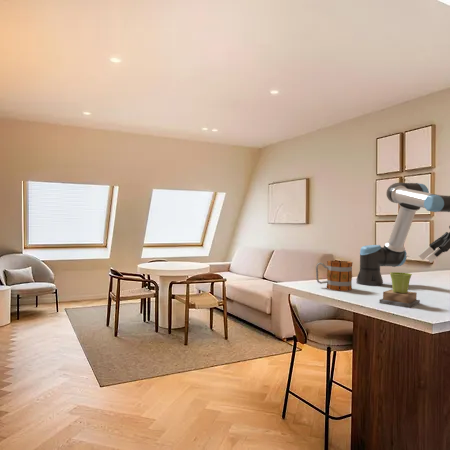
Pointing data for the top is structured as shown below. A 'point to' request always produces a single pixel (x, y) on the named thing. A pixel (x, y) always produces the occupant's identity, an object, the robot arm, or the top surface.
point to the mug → (337, 275)
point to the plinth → (399, 298)
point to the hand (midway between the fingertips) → (424, 259)
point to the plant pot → (400, 281)
